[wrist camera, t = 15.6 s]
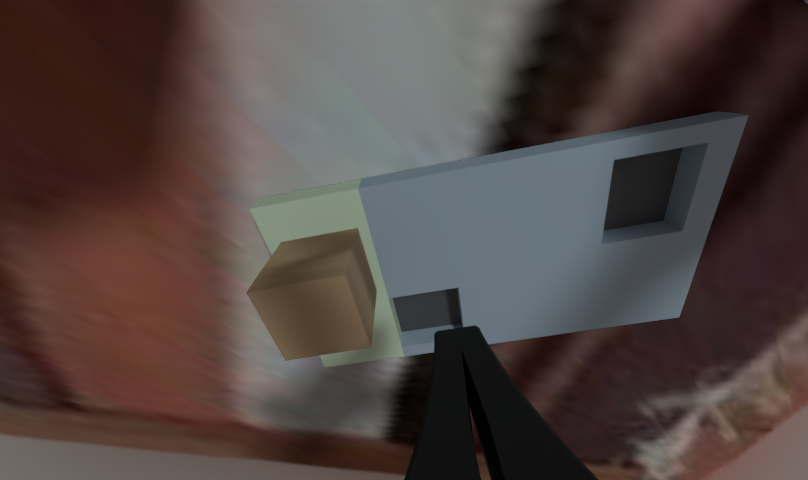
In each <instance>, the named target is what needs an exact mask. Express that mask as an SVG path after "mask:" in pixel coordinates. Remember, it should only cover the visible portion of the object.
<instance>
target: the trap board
mask: <svg viewBox="0 0 808 480" xmlns="http://www.w3.org/2000/svg"><path fill="white" fill-rule="evenodd" d="M748 116H749V115H745V114H737V113H729V112H720V111H716V112H710V113H705V114H700V115H695V116H689V117H684V118H679V119H674V120H668V121H663V122H658V123H653V124H648V125H642V126H637V127H632V128H627V129H621V130H616V131H611V132H606V133H600V134H595V135H590V136H585V137H579V138H574V139H569V140H564V141H558V142H553V143H548V144H543V145H537V146H532V147H527V148H522V149H516V150H511V151H506V152H501V153H495V154H490V155H485V156H480V157H475V158H469V159H464V160H459V161H454V162H448V163H443V164H438V165H433V166H427V167H422V168H417V169H412V170H406V171H401V172H396V173H391V174H385V175H380V176H375V177H370V178H364V179H359V180H354V181H349V182H343V183H338V184H333V185H328V186H322V187H317V188H312V189H307V190H302V191H296V192H291V193H286V194H281V195H275V196H270V197H265V198H261V199H260V200H259V201H258V202H257V203H256V204H254V205H253V206H252V207H251V208H250V211H251V213H252V216H253V218H254V220H255V222H256V224H257V226H258V228H259V230H260V232H261V234H262V237H263V239H264V241H265V243H266V245H267V247H268V249H269V251H270V253H271V255H273V253H274V252H275V250H276V249H277V247H278V246H279V244H280V243H281V242H284V241H289V240H295V239H300V238H306V237H311V236H317V235H322V234H327V233H333V232H338V231H344V230H349V229H354V228H358V230H359V234H360V237H361V240H362V243H363V247H364V250H365V253H366V257H367V260H368V263H369V266H370V270H371V273H372V276H373V280H374V283H375V286H376V289H377V294H376V304H375V314H374V324H373V334H372V344H371V348H365V349H359V350H352V351H345V352H339V353H332V354H325V355H319V356H320V358H321V360H322V362H323V364H324V367H325V368H326V367H333V366H340V365H347V364H354V363H361V362H368V361H375V360H382V359H389V358H396V357H403V356H410V355H417V354H424V353H431V352H434V334H435V333H436V332H437V331H441V330H447V329H454V328H461V327H468V326H474V325H476V326H477V327H479V328H480V330H481V332H482V334H483V336H484V338H485V340H486V341H487V343H488V344H494V343H501V342H509V341H516V340H523V339H530V338H537V337H544V336H551V335H558V334H565V333H572V332H579V331H586V330H593V329H600V328H607V327H614V326H621V325H628V324H635V323H642V322H649V321H656V320H663V319H670V318H677V317H679V316H680V314H681V311H682V308H683V305H684V302H685V299H686V296H687V293H688V290H689V287H690V284H691V282H692V279H693V276H694V273H695V270H696V267H697V264H698V261H699V258H700V255H701V253H702V250H703V247H704V244H705V241H706V238H707V235H708V232H709V229H710V226H711V223H712V221H713V218H714V215H715V212H716V209H717V206H718V203H719V200H720V197H721V194H722V192H723V189H724V186H725V183H726V180H727V177H728V174H729V171H730V168H731V165H732V162H733V160H734V157H735V154H736V151H737V148H738V145H739V142H740V139H741V136H742V133H743V131H744V128H745V125H746V122H747V119H748Z"/></svg>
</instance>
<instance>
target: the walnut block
mask: <svg viewBox="0 0 808 480" xmlns="http://www.w3.org/2000/svg"><path fill="white" fill-rule="evenodd" d="M246 293H247V295H248V296H249V298H250V300H251V301H252V303H253V305H254V307H255V308H256V310H257V312H258V314H259V315H260V317H261V319H262V321H263V322H264V324H265V326H266V328H267V329H268V331H269V333H270V335H271V336H272V338H273V340H274V342H275V343H276V345H277V347H278V349H279V350H280V352H281V354H282V355H283V357H284V359H285V361H286V360H292V359H299V358H306V357H312V356H319V355H325V354H332V353H339V352H345V351H352V350H359V349H365V348H371V344H372V334H373V324H374V314H375V304H376V294H377V289H376V286H375V283H374V280H373V276H372V273H371V270H370V266H369V263H368V260H367V257H366V253H365V250H364V247H363V243H362V240H361V237H360V234H359V230H358V228H354V229H349V230H344V231H338V232H333V233H327V234H322V235H317V236H311V237H306V238H300V239H295V240H289V241H284V242H281V243H280V244H279V246H278V247H277V249H276V250H275V252H274V253H273V255H272V256H271V258H270V259H269V260H268V262H267V263H266V265H265V266H264V268H263V269H262V271H261V272H260V273H259V275H258V276H257V278H256V279H255V281H254V282H253V284H252V285H251V286H250V288H249V289H248V291H247V292H246Z"/></svg>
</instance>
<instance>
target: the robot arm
mask: <svg viewBox="0 0 808 480" xmlns="http://www.w3.org/2000/svg"><path fill="white" fill-rule="evenodd" d="M804 2H805V3H807V4H808V0H804ZM469 406H470V409H471V413H472V416H473V420H474V423H475V426H476V430H477V433H478V437H479V440H480V443H481V447H482V450H483V454H484V457H485V460H486V464H487V467H488V471H489V474H490V477H491V480H598V479H597V478H596V477H595V476H594V474H593V473H592V472H591V471H590V470H589V469H588V468H587V467H586V466H585V465H584V464H583V463H582V462H581V461H580V460H579V459H578V458H577V457H576V456H575V454H574V453H573V452H572V451H571V450H570V449H569V448H568V447H567V446H566V445H565V443H564V442H563V441H562V440H561V439H560V438H559V437H558V436H557V435H556V433H555V432H554V431H553V430H552V429H551V428H550V426H549V425H548V424H547V423H546V422H545V421H544V419H543V418H542V417H541V416H540V415H539V413H538V412H537V411H536V410H535V408H534V407H533V406H532V405H531V404H530V402H529V401H528V400H527V399H526V397H525V396H524V395H523V393H522V392H521V391H520V390H519V388H518V387H517V385H516V384H515V383H514V381H513V380H512V379H511V377H510V376H509V375H508V373H507V372H506V371H505V369H504V368H503V366H502V365H501V363H500V362H499V360H498V359H497V357H496V356H495V354H494V353H493V351H492V350H491V348H490V346H489V345H488V343H487V341H486V340H485V338H484V336H483V334H482V332H481V330H480V328H479V327H477V326H476V325H474V326H468V327H461V328H454V329H447V330H441V331H437V332H436V333H435V334H434V357H433V366H432V373H431V379H430V384H429V390H428V395H427V400H426V405H425V409H424V413H423V417H422V421H421V425H420V429H419V433H418V437H417V440H416V444H415V447H414V451H413V454H412V457H411V461H410V464H409V467H408V470H407V473H406V476H405V479H404V480H481V478H480V473H479V468H478V463H477V458H476V454H475V449H474V442H473V434H472V425H471V417H470V409H469Z"/></svg>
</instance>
